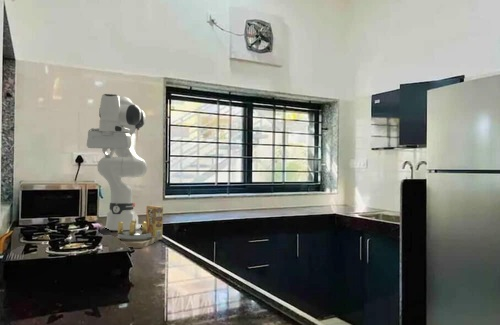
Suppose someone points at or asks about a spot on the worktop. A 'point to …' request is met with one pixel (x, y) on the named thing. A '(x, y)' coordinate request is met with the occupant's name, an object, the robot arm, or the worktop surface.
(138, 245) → the stand plate
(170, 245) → the worktop surface
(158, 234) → the candy box
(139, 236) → the cam disc
